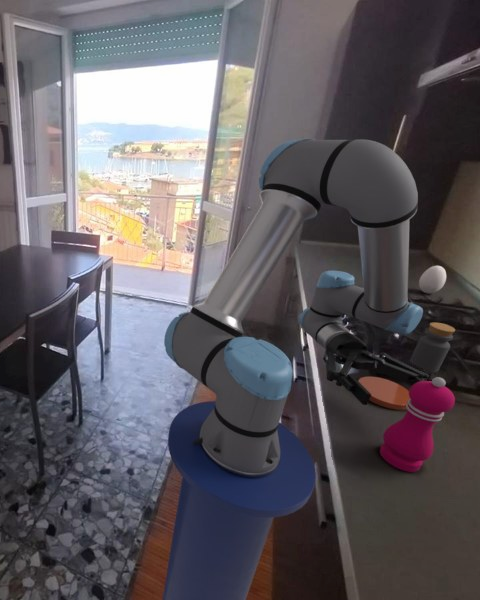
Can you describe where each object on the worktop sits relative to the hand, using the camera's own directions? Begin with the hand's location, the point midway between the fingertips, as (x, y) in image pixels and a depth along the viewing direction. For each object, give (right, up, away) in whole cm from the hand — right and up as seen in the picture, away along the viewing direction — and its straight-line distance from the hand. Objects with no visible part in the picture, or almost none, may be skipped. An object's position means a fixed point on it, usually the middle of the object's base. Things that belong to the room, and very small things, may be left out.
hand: (403, 401), depth 71 cm
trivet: (+11, -4, +18) cm, 22 cm away
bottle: (+27, 0, +25) cm, 37 cm away
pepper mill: (0, -12, +1) cm, 12 cm away
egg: (+77, +23, +74) cm, 110 cm away
